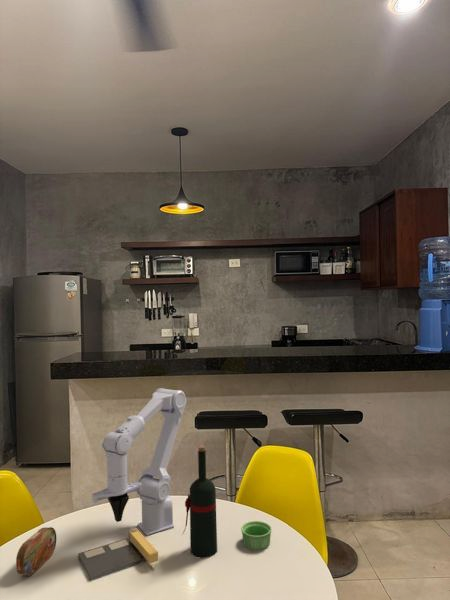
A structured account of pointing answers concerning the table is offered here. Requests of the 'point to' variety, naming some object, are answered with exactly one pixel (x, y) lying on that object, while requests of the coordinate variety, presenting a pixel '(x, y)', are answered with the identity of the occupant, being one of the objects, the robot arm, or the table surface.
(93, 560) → the panel
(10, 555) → the table surface
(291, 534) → the table surface
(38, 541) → the tin
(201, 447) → the wine bottle
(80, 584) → the table surface
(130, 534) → the tan wooden beam
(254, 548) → the ramekin
